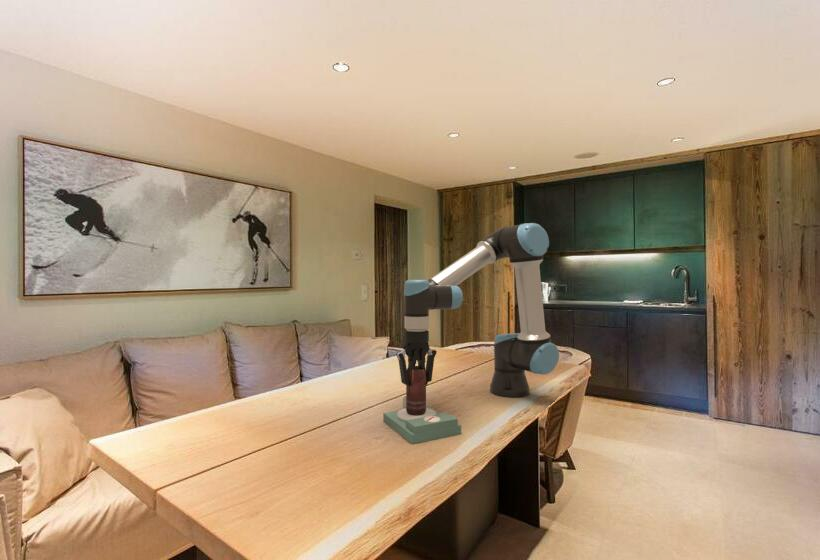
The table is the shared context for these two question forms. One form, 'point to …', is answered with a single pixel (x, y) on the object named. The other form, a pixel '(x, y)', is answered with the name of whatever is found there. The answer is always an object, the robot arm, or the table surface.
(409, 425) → the scale
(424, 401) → the can
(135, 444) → the table surface
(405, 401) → the spacer
